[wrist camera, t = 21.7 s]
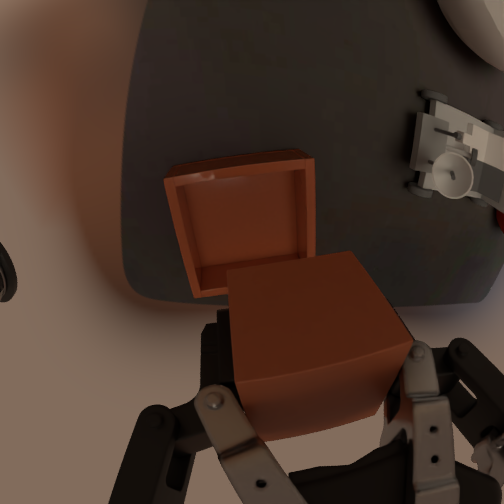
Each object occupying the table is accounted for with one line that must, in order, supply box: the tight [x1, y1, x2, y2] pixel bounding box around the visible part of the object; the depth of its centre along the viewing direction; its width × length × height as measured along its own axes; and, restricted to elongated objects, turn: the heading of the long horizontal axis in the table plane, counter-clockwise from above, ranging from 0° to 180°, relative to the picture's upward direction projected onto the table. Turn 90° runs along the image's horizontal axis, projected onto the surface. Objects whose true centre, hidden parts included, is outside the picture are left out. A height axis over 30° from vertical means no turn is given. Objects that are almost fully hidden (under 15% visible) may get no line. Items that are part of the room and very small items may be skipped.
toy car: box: [407, 89, 504, 213], centre depth 20 cm, size 18×10×12 cm
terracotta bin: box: [163, 149, 316, 298], centre depth 25 cm, size 12×12×5 cm
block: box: [227, 251, 413, 442], centre depth 10 cm, size 5×5×5 cm
